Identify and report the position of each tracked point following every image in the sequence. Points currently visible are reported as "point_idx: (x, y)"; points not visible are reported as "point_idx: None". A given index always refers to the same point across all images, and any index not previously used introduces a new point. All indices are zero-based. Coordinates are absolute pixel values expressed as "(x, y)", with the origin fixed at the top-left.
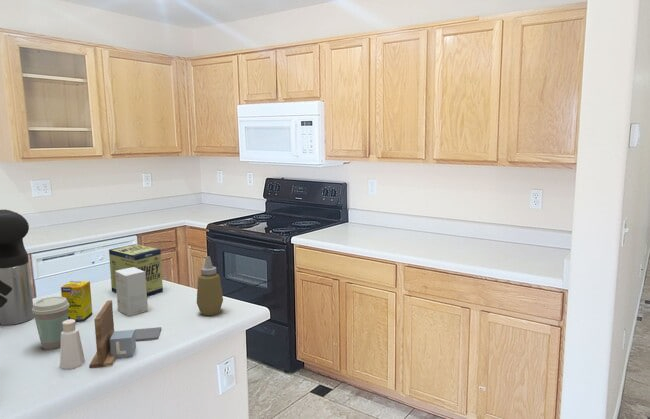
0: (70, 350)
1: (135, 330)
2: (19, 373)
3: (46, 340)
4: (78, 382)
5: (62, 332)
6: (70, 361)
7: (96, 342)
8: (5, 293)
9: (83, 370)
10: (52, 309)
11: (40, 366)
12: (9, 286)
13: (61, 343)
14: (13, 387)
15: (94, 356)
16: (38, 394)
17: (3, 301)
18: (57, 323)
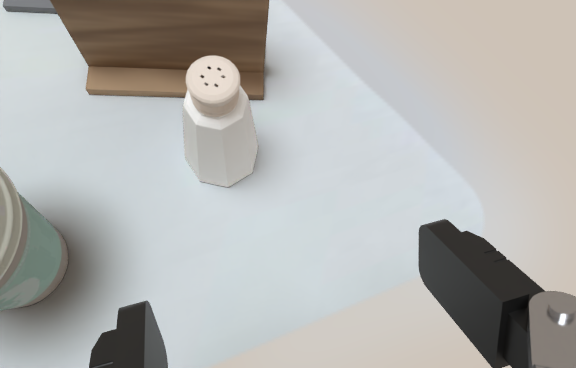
0: (253, 122)
1: (15, 3)
2: (250, 304)
3: (55, 268)
4: (346, 110)
5: (226, 122)
6: (255, 140)
7: (266, 28)
8: (164, 350)
9: (274, 113)
10: (3, 194)
11: (212, 251)
12: (131, 321)
13: (231, 146)
14: (344, 284)
15: None
16: (397, 196)
17: (468, 233)
18: (28, 204)
